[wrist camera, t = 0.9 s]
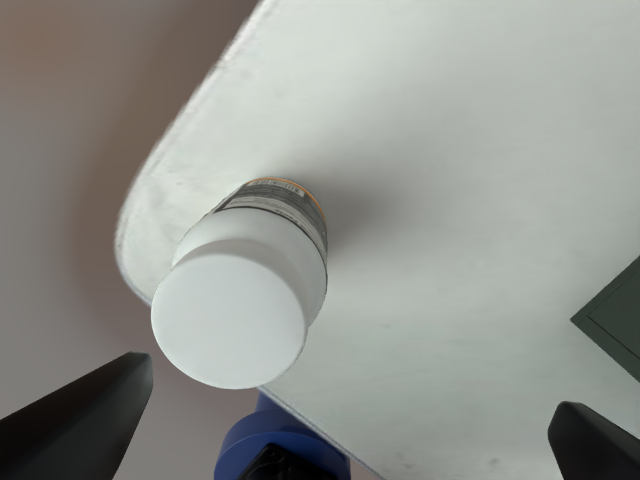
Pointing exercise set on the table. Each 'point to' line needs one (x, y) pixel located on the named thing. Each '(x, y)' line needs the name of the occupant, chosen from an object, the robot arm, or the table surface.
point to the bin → (616, 319)
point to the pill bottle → (245, 286)
